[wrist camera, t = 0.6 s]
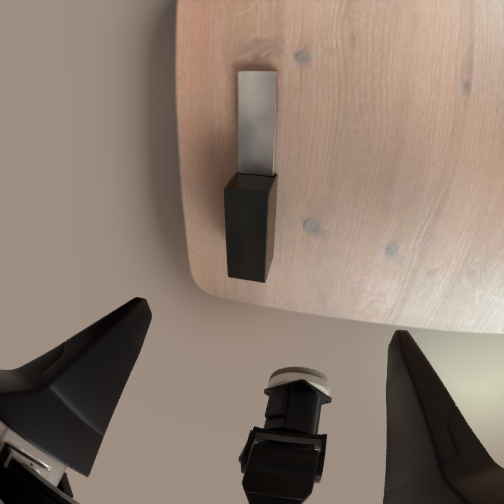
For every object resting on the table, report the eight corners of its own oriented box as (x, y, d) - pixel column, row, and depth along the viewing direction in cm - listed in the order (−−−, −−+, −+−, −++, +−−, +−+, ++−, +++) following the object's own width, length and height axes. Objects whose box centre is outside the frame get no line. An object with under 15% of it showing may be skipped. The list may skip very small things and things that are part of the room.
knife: (273, 257, 23) (265, 283, 21) (239, 252, 24) (227, 277, 21) (281, 71, 15) (273, 71, 13) (237, 70, 16) (220, 71, 13)
